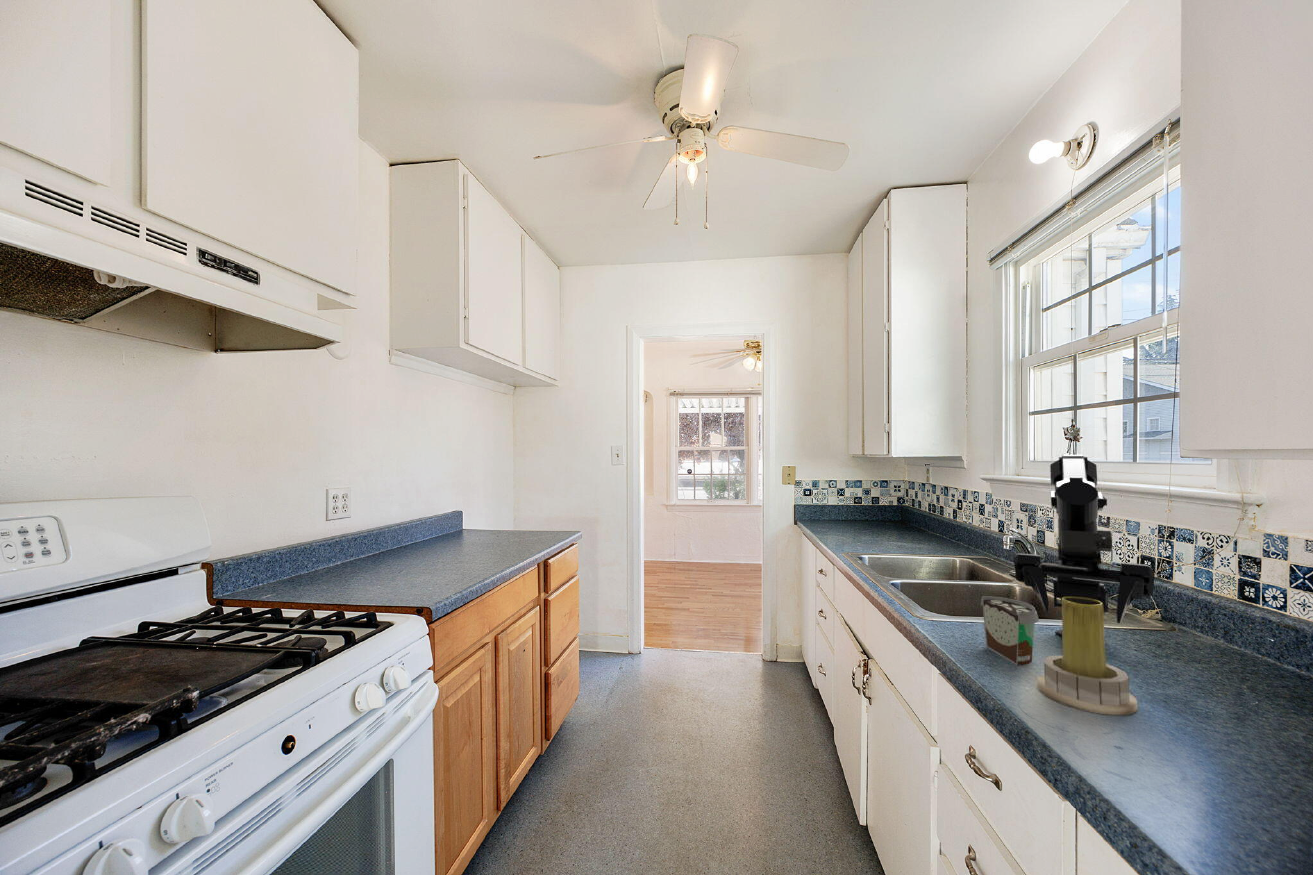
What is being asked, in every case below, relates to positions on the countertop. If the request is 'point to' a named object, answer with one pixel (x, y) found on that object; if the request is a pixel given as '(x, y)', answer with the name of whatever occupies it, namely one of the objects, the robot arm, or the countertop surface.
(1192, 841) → the countertop surface
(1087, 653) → the vase
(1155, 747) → the countertop surface
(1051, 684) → the collar stand
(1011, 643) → the food container
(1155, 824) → the countertop surface
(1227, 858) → the countertop surface
